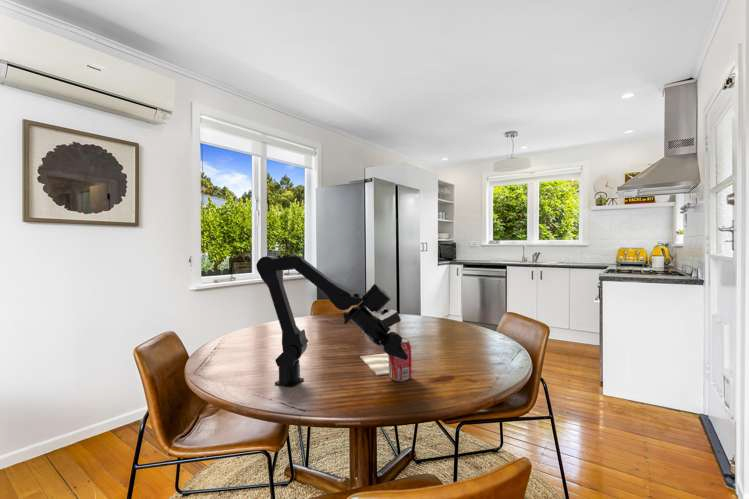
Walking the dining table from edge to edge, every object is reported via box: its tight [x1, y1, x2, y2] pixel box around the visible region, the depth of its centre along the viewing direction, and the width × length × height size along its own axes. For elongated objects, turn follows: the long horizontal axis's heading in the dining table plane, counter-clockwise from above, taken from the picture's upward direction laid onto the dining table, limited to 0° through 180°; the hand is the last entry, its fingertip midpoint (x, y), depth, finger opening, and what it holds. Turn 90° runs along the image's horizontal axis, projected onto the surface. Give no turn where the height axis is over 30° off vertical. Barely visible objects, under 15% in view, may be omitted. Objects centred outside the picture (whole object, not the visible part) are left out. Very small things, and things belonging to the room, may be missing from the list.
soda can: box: [388, 337, 412, 382], centre depth 117 cm, size 7×7×12 cm
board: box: [359, 353, 413, 376], centre depth 131 cm, size 20×12×1 cm, turn 18°
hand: (401, 354), depth 117 cm, fingers open, 9 cm apart
